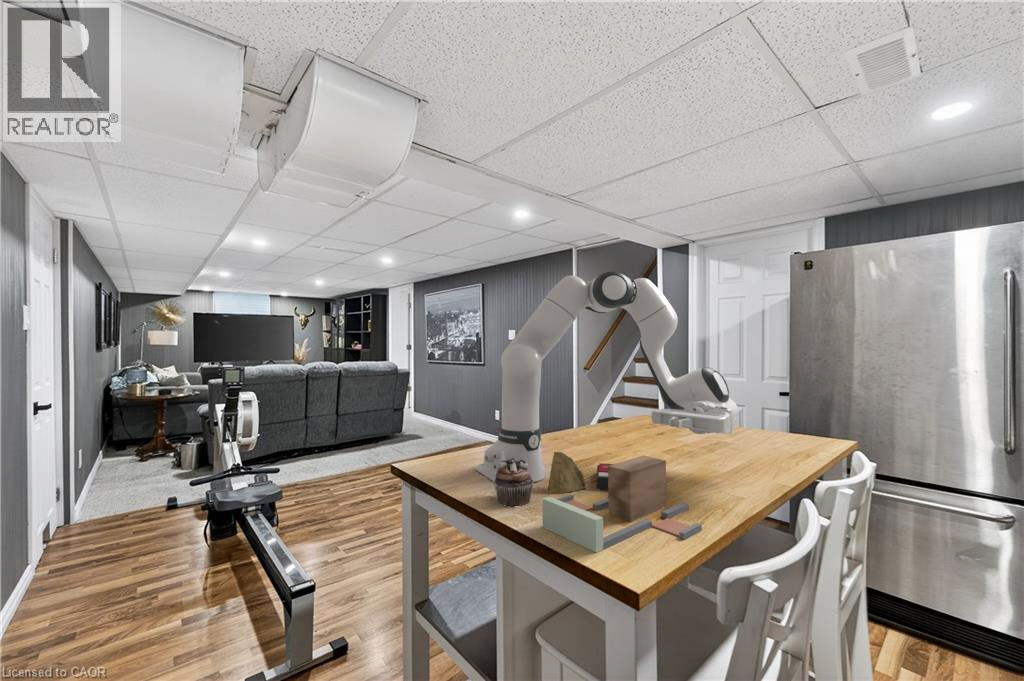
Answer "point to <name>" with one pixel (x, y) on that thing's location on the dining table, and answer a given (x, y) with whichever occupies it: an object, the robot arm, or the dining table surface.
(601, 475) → the calculator
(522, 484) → the cupcake
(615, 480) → the walnut block
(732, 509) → the dining table surface
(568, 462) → the rock
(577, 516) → the green panel rail frame
